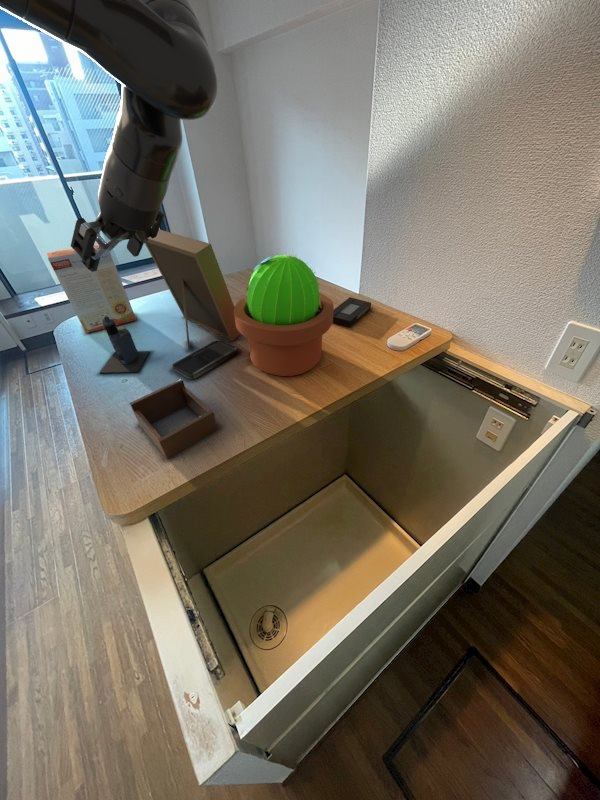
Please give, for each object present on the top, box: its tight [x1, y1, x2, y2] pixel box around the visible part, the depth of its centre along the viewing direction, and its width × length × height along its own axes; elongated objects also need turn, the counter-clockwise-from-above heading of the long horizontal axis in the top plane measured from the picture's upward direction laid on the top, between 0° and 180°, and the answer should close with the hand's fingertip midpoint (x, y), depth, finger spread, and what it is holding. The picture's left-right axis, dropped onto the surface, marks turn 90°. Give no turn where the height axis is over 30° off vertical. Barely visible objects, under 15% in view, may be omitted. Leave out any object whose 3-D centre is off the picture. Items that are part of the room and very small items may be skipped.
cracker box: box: [46, 243, 137, 334], centre depth 90 cm, size 14×6×21 cm, turn 123°
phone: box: [172, 339, 238, 380], centre depth 81 cm, size 8×1×15 cm
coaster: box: [99, 350, 151, 375], centre depth 81 cm, size 9×9×1 cm
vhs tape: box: [332, 297, 372, 328], centre depth 98 cm, size 8×14×2 cm, turn 146°
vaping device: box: [103, 317, 138, 364], centre depth 77 cm, size 3×5×12 cm, turn 161°
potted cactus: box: [234, 252, 335, 377], centre depth 74 cm, size 22×22×25 cm
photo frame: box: [144, 229, 242, 351], centre depth 83 cm, size 15×22×25 cm
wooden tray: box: [129, 378, 218, 459], centre depth 62 cm, size 12×11×6 cm
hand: (111, 259), depth 56 cm, fingers open, 8 cm apart
